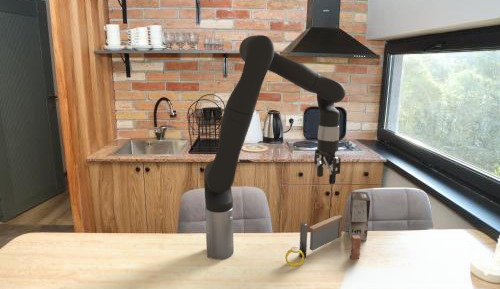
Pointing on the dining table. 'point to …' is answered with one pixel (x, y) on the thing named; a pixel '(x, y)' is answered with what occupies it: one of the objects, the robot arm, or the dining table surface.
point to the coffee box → (359, 214)
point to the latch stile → (355, 247)
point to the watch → (294, 250)
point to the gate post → (303, 239)
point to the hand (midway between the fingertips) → (325, 180)
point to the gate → (325, 231)
